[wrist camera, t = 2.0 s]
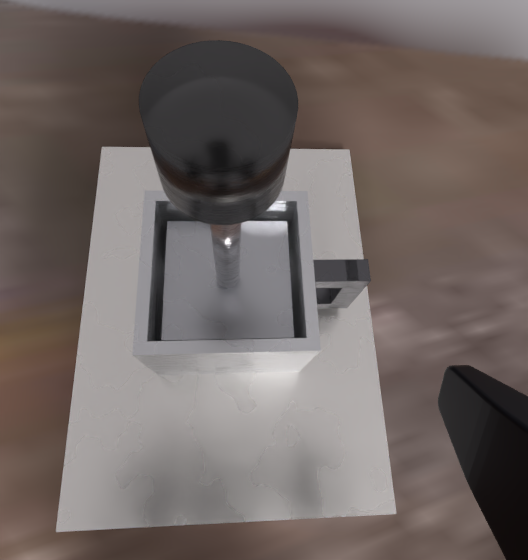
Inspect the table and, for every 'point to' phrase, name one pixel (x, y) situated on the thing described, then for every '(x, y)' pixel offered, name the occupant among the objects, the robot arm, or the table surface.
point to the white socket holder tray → (224, 372)
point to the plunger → (222, 189)
